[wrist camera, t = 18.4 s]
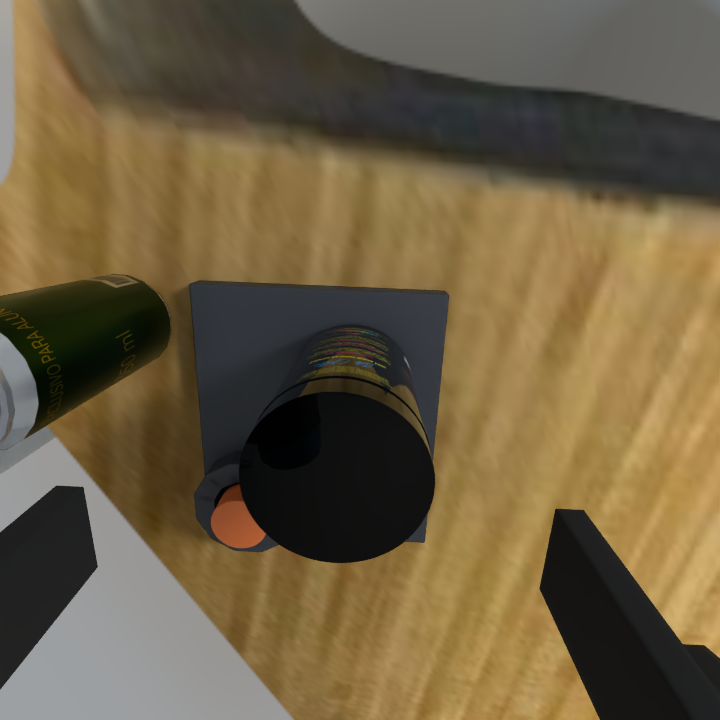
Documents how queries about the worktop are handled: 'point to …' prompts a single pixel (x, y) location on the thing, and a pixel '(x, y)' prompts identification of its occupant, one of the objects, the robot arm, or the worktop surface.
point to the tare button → (235, 521)
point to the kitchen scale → (292, 360)
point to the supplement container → (341, 451)
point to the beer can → (73, 346)
